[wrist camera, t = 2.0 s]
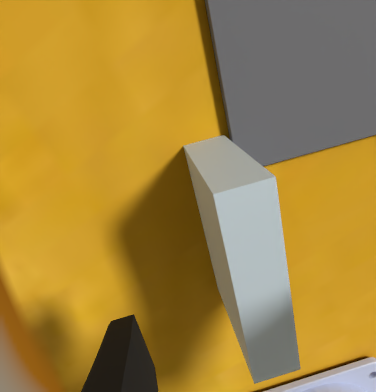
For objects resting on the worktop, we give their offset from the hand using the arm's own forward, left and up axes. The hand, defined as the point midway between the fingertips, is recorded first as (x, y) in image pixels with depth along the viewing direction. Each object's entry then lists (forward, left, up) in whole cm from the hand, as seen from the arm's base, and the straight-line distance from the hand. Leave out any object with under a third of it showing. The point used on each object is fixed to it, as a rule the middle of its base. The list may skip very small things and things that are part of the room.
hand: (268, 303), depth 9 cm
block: (0, 0, -5) cm, 5 cm away
